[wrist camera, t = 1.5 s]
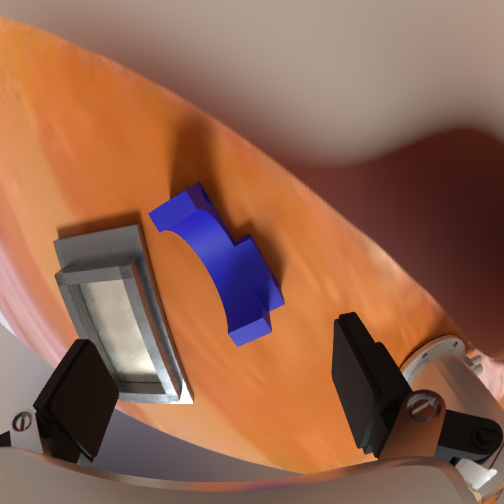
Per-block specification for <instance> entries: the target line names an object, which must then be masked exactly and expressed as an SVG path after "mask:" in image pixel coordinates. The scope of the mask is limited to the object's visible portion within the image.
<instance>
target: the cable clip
mask: <svg viewBox="0 0 504 504" xmlns="http://www.w3.org/2000/svg"><path fill="white" fill-rule="evenodd" d="M149 216H150V218H151V219H152V221H153V223H154V224H155V226H156V227H157V229H158V231H159V232H162V231H164V230H169V231H173V232H175V233H176V234H178V235H179V236H181V237H182V238H183V239H184V240H185V241H186V242H187V243H188V244H189V245H190V246H191V247H192V248H193V249H194V251H195V252H196V253H197V255H198V256H199V257H200V259H201V260H202V262H203V263H204V265H205V267H206V268H207V270H208V272H209V274H210V275H211V277H212V279H213V281H214V283H215V285H216V288H217V290H218V292H219V295H220V297H221V300H222V303H223V306H224V309H225V313H226V317H227V324H228V334H229V336H230V337H231V338H232V340H233V341H234V343H235V344H236V345H237V347H239V346H241V345H243V344H246V343H248V342H250V341H253V340H255V339H257V338H259V337H262V336H264V335H266V334H268V333H271V332H272V327H271V321H270V314H269V311H271V310H273V309H275V308H278V307H280V306H282V305H284V304H285V302H284V298H283V294H282V291H281V288H280V286H279V284H278V283H277V281H276V279H275V277H274V275H273V274H272V272H271V270H270V268H269V267H268V265H267V263H266V261H265V259H264V258H263V256H262V254H261V252H260V251H259V249H258V247H257V245H256V243H255V242H254V240H253V238H252V236H251V235H250V234H249V235H247V236H245V237H244V238H242V239H240V240H238V241H236V242H235V241H234V240H233V238H232V236H231V235H230V233H229V231H228V230H227V228H226V226H225V224H224V223H223V221H222V219H221V218H220V216H219V214H218V212H217V211H216V209H215V207H214V206H213V204H212V202H211V200H210V199H209V197H208V195H207V194H206V192H205V190H204V188H203V187H202V185H201V183H200V182H198V183H197V184H195V185H193V186H192V187H190V188H188V189H187V190H185V191H183V192H182V193H180V194H178V195H177V196H175V197H173V198H172V199H170V200H169V201H167V202H165V203H164V204H162V205H161V206H159V207H158V208H156V209H155V210H153V211H152V212H150V213H149Z"/></svg>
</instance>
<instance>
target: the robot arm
mask: <svg viewBox="0 0 504 504" xmlns="http://www.w3.org/2000/svg"><path fill="white" fill-rule="evenodd" d="M465 350H466V349H465V345H464V343H463V342H462V341H461V339H460V338H459V337H457V336H455V335H446V336H442V337H439V338H436V339H434V340H432V341H430V342H428V343H427V344H425V345H424V346H422V347H421V348H420V349H418V350H417V351H416V352H415V353H414V354H413V355H412V356H411V357H410V358H408V360H407V361H406V362H405V363H404V364H403V365H402V367H401V368H400V369H399V368H398V366H397V365H396V363H395V361H394V360H393V358H392V357H391V355H390V354H389V352H388V351H387V349H386V348H385V346H384V345H383V344H382V343H381V342H376V343H375V342H374V340H373V338H372V337H371V335H370V334H369V332H368V331H367V329H366V328H365V326H364V324H363V323H362V321H361V320H360V318H359V317H358V315H357V314H356V313H355V312H351V313H346V314H340V315H339V319H335V321H334V339H333V358H332V379H333V382H334V385H335V387H336V390H337V393H338V396H339V398H340V401H341V404H342V407H343V409H344V412H345V415H346V418H347V420H348V423H349V426H350V429H351V432H352V435H353V437H354V440H355V443H356V446H357V448H358V449H360V448H363V451H364V454H369V453H372V452H373V454H374V457H376V458H378V460H377V461H372V462H366V463H362V464H357V465H353V466H348V467H343V468H338V469H334V470H329V471H324V472H319V473H313V474H308V475H301V476H294V477H287V478H279V479H271V480H260V481H247V482H221V483H220V482H219V483H218V482H212V483H211V482H182V481H168V480H158V479H149V478H142V477H135V476H128V475H122V474H117V473H111V472H107V471H103V470H98V469H94V468H90V467H85V466H82V465H79V463H78V459H81V460H82V461H85V462H89V463H92V462H93V459H94V457H96V456H97V454H98V451H99V448H100V446H101V443H102V439H103V437H104V434H105V432H106V429H107V426H108V423H109V421H110V418H111V415H112V413H113V410H114V408H115V405H116V402H117V400H118V397H119V389H118V387H117V385H116V384H115V382H114V380H113V378H112V377H111V375H110V373H109V371H108V369H107V367H106V365H105V363H104V362H103V360H102V358H101V356H100V354H99V352H98V350H97V348H96V345H95V344H94V343H92V341H91V340H89V339H76V340H75V342H74V343H73V344H72V346H71V347H70V349H69V350H68V352H67V353H66V355H65V356H64V357H63V359H62V360H61V362H60V363H59V365H58V366H57V368H56V369H55V371H54V372H53V374H52V376H51V377H50V379H49V380H48V382H47V383H46V385H45V386H44V388H43V390H42V391H41V393H40V394H39V396H38V398H37V399H36V401H35V403H34V404H33V407H34V408H35V409H36V411H37V412H36V413H34V412H33V411H32V410H30V409H22V410H19V411H18V412H16V413H15V414H14V415H13V417H12V418H11V420H10V424H9V428H10V430H9V431H7V432H5V433H3V434H1V435H0V504H504V410H503V408H502V407H501V406H500V404H499V403H498V402H497V400H496V399H495V398H494V397H493V395H492V394H491V393H490V391H489V390H488V389H487V388H486V386H485V385H484V384H483V383H482V381H481V380H480V379H479V378H478V375H479V374H481V373H482V371H483V368H482V365H481V364H480V363H481V362H482V357H481V355H477V356H475V357H473V358H471V359H470V358H468V357H467V355H466V354H465ZM472 492H478V493H480V494H481V497H482V498H481V499H480V500H479V501H477V500H476V498H475V496H474V494H473V493H472Z"/></svg>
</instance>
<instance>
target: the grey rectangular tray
mask: <svg viewBox="0 0 504 504" xmlns="http://www.w3.org/2000/svg"><path fill="white" fill-rule="evenodd" d="M53 243H54V246H55V250H56V253H57V257H58V260H59V263H60V266H61V270H60V271H59V272H57V273H56V274H55V278H56V281H57V284H58V287H59V290H60V292H61V295H62V298H63V300H64V303H65V305H66V308H67V310H68V313H69V315H70V317H71V320H72V322H73V324H74V327H75V329H76V331H77V333H78V336H79V338H80V339H89V340H91V341H92V343H94V344H95V345H96V348H97V350H98V352H99V354H100V356H101V358H102V360H103V362H104V363H105V365H106V367H107V369H108V371H109V373H110V375H111V377H112V378H113V380H114V382H115V384H116V385H117V387H118V389H119V397H118V399H121V401H122V402H135V403H156V404H193V402H194V396H193V394H192V391H191V389H190V386H189V384H188V381H187V378H186V376H185V373H184V370H183V368H182V365H181V362H180V359H179V356H178V354H177V351H176V348H175V345H174V342H173V339H172V336H171V333H170V330H169V327H168V323H167V320H166V317H165V314H164V311H163V307H162V304H161V300H160V297H159V294H158V290H157V286H156V283H155V279H154V275H153V272H152V268H151V264H150V260H149V256H148V252H147V248H146V243H145V239H144V235H143V230H142V226H141V222H139V223H133V224H128V225H123V226H117V227H112V228H107V229H102V230H97V231H92V232H87V233H82V234H77V235H72V236H68V237H63V238H59V239H57V240H55V241H53Z"/></svg>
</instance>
